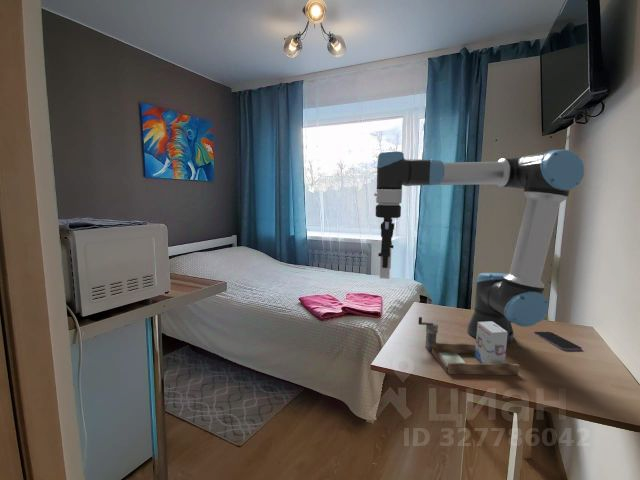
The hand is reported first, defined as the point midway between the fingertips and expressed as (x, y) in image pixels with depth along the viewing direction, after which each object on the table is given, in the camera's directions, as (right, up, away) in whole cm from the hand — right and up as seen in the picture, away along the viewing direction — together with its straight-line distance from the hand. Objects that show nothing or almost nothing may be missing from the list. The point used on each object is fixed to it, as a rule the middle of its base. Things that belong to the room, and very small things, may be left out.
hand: (385, 273), depth 106 cm
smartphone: (+64, -26, +15) cm, 71 cm away
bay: (+24, -27, -1) cm, 36 cm away
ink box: (+31, -27, -2) cm, 41 cm away
